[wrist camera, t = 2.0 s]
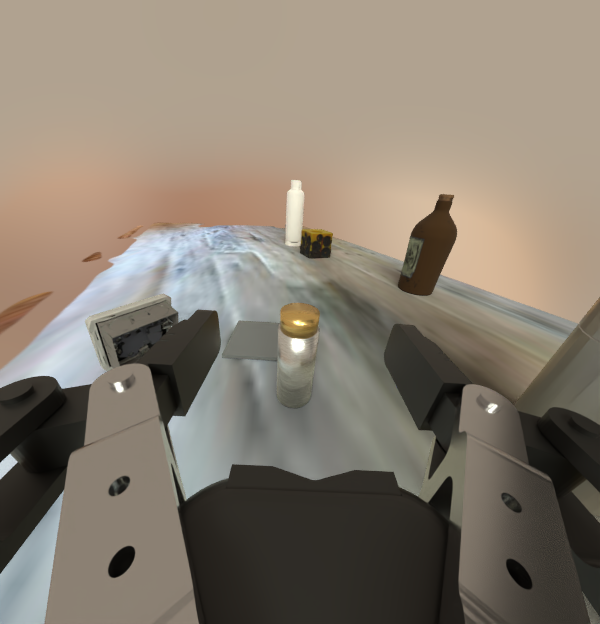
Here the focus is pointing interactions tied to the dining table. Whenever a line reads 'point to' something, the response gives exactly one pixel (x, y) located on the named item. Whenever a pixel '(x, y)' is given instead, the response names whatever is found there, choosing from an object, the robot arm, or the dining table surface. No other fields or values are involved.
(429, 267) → the olive oil
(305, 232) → the yellow black spotted box
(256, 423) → the dining table surface
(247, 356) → the mat
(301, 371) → the canister
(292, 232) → the bottle
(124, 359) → the electrical switch
